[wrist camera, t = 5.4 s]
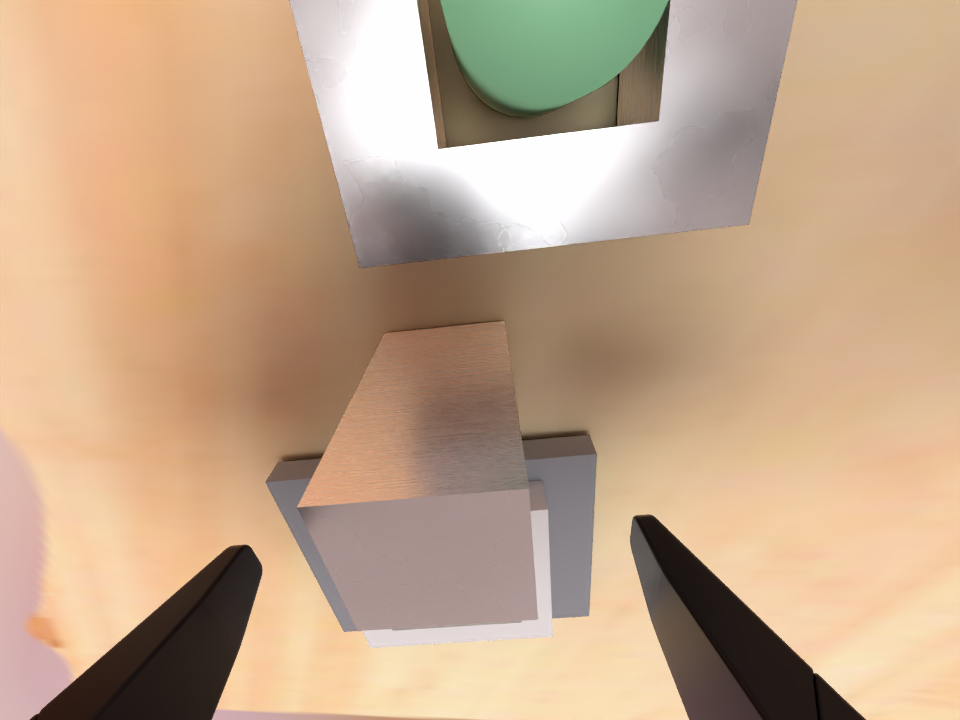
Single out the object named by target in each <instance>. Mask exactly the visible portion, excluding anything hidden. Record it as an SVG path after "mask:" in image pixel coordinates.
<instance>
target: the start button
mask: <svg viewBox="0 0 960 720" xmlns="http://www.w3.org/2000/svg"><path fill="white" fill-rule="evenodd" d="M668 1H669V0H440V2H441V6H442V10H443V13H444V17H445V21H446V25H447V29H448V33H449V36H450V40H451V44H452V48H453V51H454V55H455V59H456V61H457V64H458V67H459V69H460V71H461V73H462V75H463V77H464V79H465V81H466V82H467V84H468V85H469V87H470V88H471V89H472V91H473V92H474V93H475V94H476V95H477V96H478V97H479V98H480V99H481V100H482V101H483V102H484V103H486V104H487V105H488V106H490V107H491V108H493V109H495V110H496V111H499V112H501V113H503V114H506V115H510V116H514V117H535V116H539V115H543V114H546V113H549V112H551V111H554V110H556V109H558V108H560V107H562V106H564V105H566V104H568V103H570V102H572V101H574V100H576V99H579V98H581V97H583V96H585V95H587V94H589V93H591V92H593V91H594V90H596V89H598V88H600V87H602V86H603V85H605V84H606V83H607V82H609V81H610V80H612V79H613V78H614V77H615V76H617V75H618V74H619V73H620V72H621V71H622V70H623V69H624V68H625V67H627V65H628V64H629V63H630V62H631V61H632V60H633V59H634V58H635V56H636V55H637V54H638V53H639V52H640V50H641V49H642V48H643V46H644V45H645V43H646V42H647V41H648V39H649V38H650V36H651V34H652V33H653V31H654V29H655V27H656V26H657V24H658V22H659V20H660V18H661V16H662V14H663V12H664V10H665V7H666V5H667V3H668Z"/></svg>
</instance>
